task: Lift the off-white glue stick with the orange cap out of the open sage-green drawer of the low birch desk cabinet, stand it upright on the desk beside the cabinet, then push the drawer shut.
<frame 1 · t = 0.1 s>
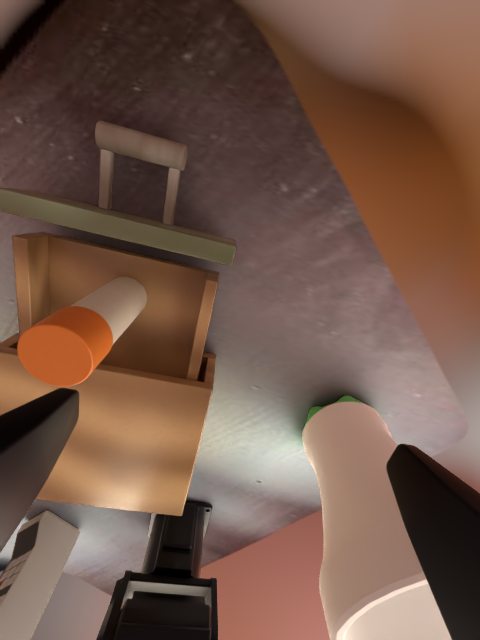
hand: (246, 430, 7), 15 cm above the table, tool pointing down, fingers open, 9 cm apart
cup: (336, 422, 27), on the table
drawer: (126, 280, 18), point 2 cm above the table, slide at 8.5 cm, touching glue stick
cabinet: (124, 403, 25), on the table
glue stick: (127, 295, 19), point 2 cm above the table, touching drawer
vintage mobile phone: (54, 523, 31), on the table
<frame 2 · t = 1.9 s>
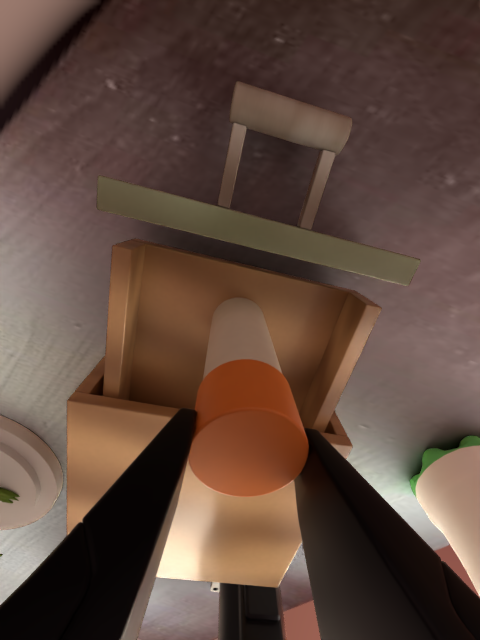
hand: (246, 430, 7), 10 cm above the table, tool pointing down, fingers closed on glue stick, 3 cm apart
cup: (450, 465, 22), on the table
drawer: (244, 303, 13), point 2 cm above the table, slide at 8.5 cm, touching glue stick
cabinet: (202, 446, 20), on the table
glue stick: (238, 321, 14), point 2 cm above the table, touching drawer, gripper
when the fingers open (8 cm above the table, at t = 5.6 s): glue stick stays where it is, on the table.
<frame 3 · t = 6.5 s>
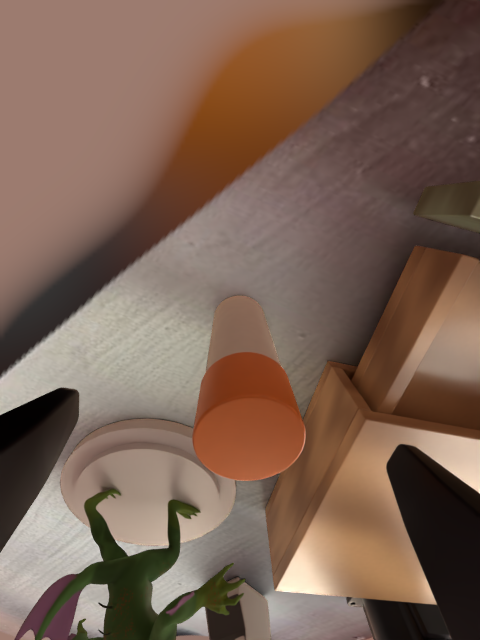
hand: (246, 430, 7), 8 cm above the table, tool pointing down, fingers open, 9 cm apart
monster figurine: (154, 480, 20), on the table
cabinet: (385, 459, 19), on the table
glue stick: (239, 319, 15), on the table
vintage mobile phone: (237, 590, 26), on the table
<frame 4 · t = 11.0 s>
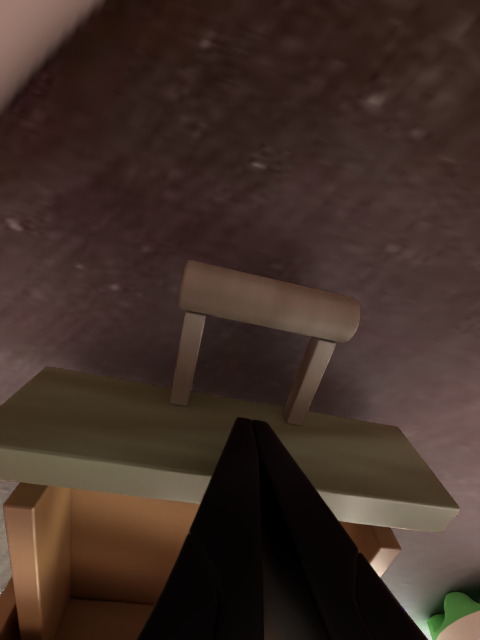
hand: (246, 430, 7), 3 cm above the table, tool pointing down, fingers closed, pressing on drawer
cup: (476, 603, 19), on the table
drawer: (212, 513, 10), point 2 cm above the table, slide at 8.0 cm, touching gripper
cabinet: (175, 597, 17), on the table
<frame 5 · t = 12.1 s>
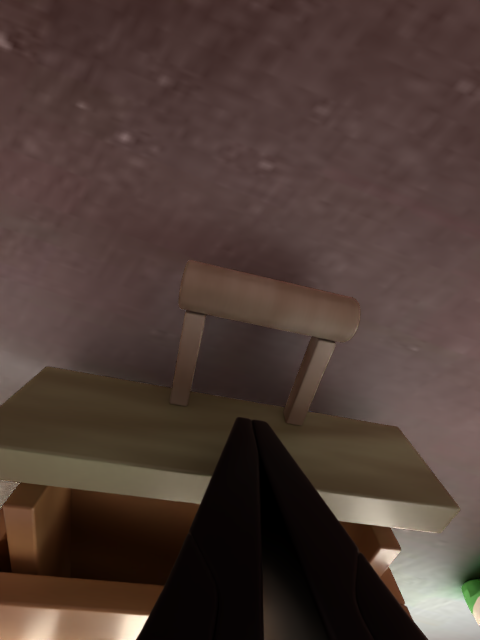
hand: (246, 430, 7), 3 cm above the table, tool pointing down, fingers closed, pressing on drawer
drawer: (212, 513, 10), point 2 cm above the table, slide at 3.6 cm, touching gripper
cabinet: (187, 555, 15), on the table
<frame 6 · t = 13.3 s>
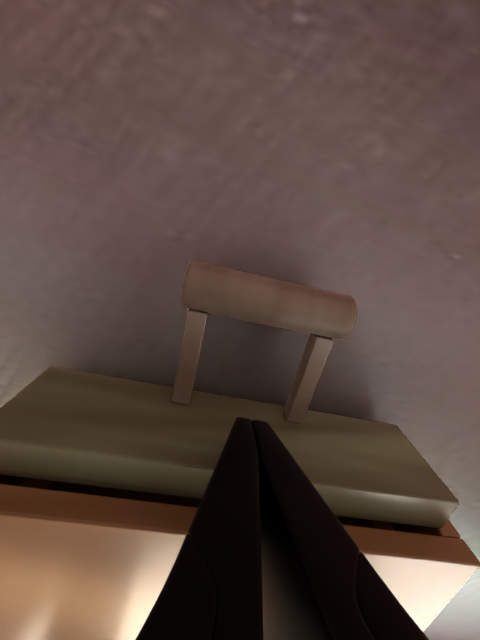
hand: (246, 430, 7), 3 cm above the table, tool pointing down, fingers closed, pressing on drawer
drawer: (213, 513, 10), point 2 cm above the table, slide at 0.0 cm, touching cabinet, gripper
cabinet: (200, 518, 14), on the table
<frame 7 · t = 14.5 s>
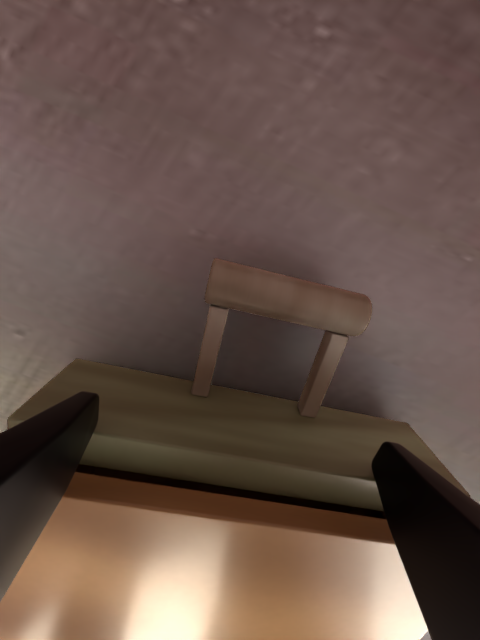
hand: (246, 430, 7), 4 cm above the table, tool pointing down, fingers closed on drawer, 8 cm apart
drawer: (228, 504, 10), point 2 cm above the table, slide at 0.0 cm, touching cabinet, gripper
cabinet: (211, 512, 14), on the table
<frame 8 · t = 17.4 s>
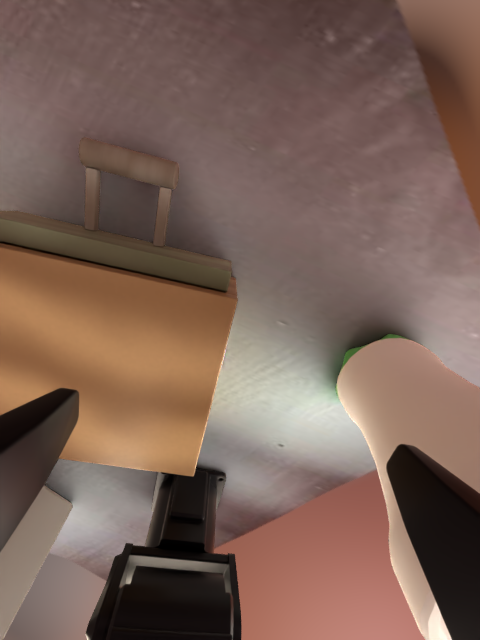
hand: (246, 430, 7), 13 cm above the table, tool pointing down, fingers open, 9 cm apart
cup: (375, 371, 23), on the table
drawer: (115, 305, 17), point 2 cm above the table, slide at 0.0 cm, touching cabinet
cabinet: (124, 343, 21), on the table
vintage mobile phone: (43, 496, 27), on the table
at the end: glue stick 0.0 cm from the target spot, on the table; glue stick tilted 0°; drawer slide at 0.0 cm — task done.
